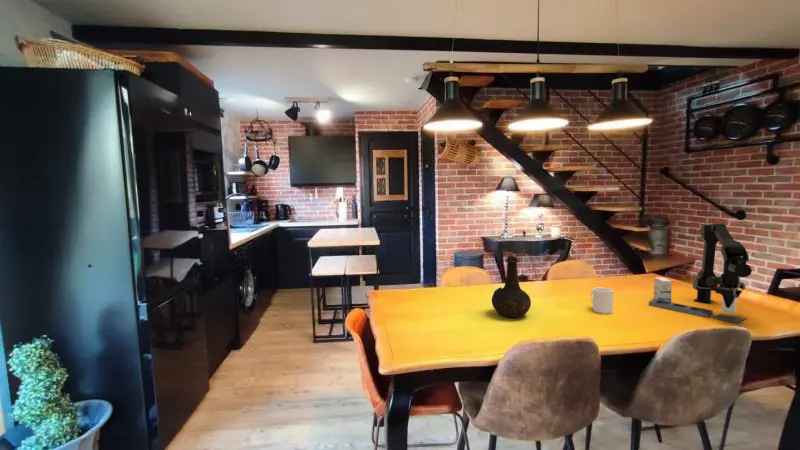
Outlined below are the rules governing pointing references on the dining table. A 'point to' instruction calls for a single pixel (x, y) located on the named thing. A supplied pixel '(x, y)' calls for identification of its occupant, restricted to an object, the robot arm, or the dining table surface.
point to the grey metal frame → (681, 308)
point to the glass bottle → (511, 294)
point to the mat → (728, 318)
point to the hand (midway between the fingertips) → (729, 306)
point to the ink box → (662, 289)
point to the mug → (602, 300)
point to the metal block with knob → (732, 309)
